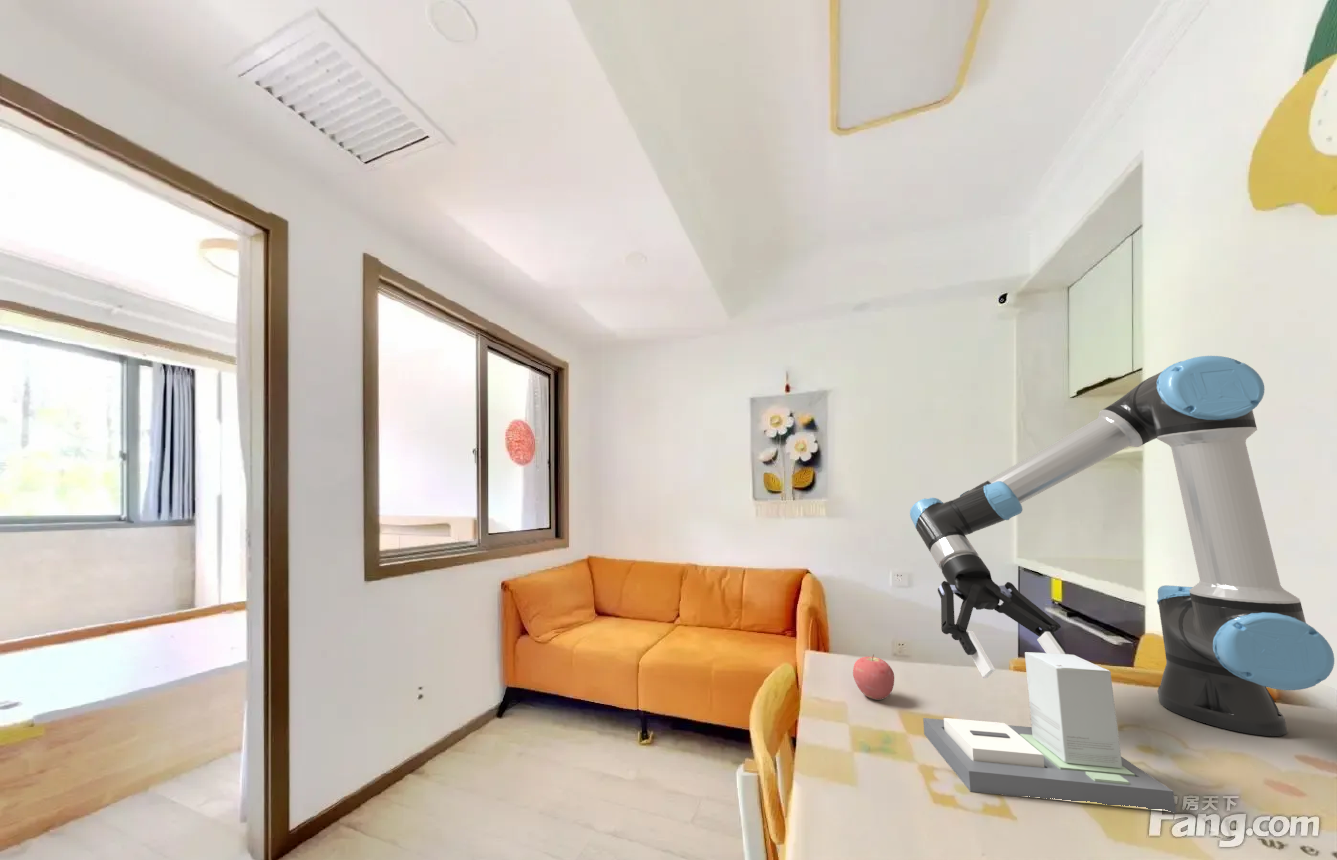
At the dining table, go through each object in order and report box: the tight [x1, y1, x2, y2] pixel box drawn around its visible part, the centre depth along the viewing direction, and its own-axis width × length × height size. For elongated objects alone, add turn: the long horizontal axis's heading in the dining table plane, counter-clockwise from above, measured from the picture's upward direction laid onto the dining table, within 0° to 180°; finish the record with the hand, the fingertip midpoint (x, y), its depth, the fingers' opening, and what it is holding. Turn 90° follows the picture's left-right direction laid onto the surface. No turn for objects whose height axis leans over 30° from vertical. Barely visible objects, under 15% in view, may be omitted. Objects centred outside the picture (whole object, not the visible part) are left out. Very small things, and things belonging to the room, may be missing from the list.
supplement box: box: [1024, 651, 1122, 768], centre depth 67 cm, size 7×7×13 cm
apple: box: [852, 654, 895, 701], centre depth 89 cm, size 7×7×8 cm
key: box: [1020, 734, 1135, 776], centre depth 65 cm, size 9×9×2 cm
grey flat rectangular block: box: [922, 717, 1177, 814], centre depth 66 cm, size 24×15×4 cm, turn 82°
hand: (1030, 674), depth 73 cm, fingers open, 13 cm apart
